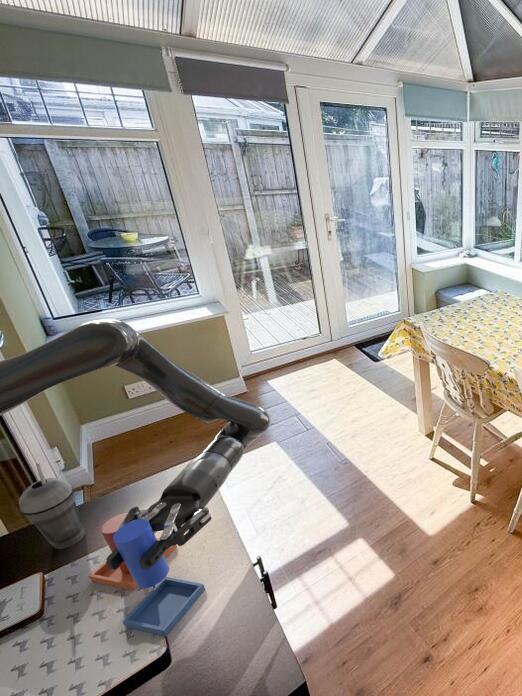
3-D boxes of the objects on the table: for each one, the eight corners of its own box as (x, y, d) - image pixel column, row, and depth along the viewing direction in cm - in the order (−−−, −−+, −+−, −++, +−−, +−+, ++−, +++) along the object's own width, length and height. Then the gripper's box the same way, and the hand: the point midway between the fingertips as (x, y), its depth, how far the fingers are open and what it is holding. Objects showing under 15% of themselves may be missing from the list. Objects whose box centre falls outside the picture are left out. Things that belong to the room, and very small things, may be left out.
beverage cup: (56, 531, 86) (14, 457, 78) (101, 520, 89) (64, 448, 81) (36, 562, 80) (-12, 485, 72) (85, 549, 83) (44, 474, 75)
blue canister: (132, 578, 69) (108, 533, 65) (163, 558, 73) (143, 514, 68) (141, 594, 67) (118, 548, 63) (173, 573, 70) (153, 528, 66)
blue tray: (126, 629, 70) (122, 621, 69) (168, 583, 77) (165, 576, 77) (167, 638, 69) (163, 631, 68) (206, 591, 76) (203, 583, 76)
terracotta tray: (92, 583, 77) (88, 576, 76) (139, 540, 85) (136, 533, 84) (134, 592, 76) (131, 585, 75) (177, 548, 84) (174, 541, 83)
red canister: (115, 572, 78) (94, 531, 74) (137, 551, 82) (118, 511, 78) (135, 576, 78) (115, 535, 73) (156, 554, 82) (138, 515, 77)
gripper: (155, 467, 78) (70, 549, 63) (231, 468, 79) (165, 550, 63) (167, 495, 82) (88, 581, 66) (240, 496, 82) (179, 582, 66)
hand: (127, 565), depth 65 cm, fingers closed on blue canister, 4 cm apart
